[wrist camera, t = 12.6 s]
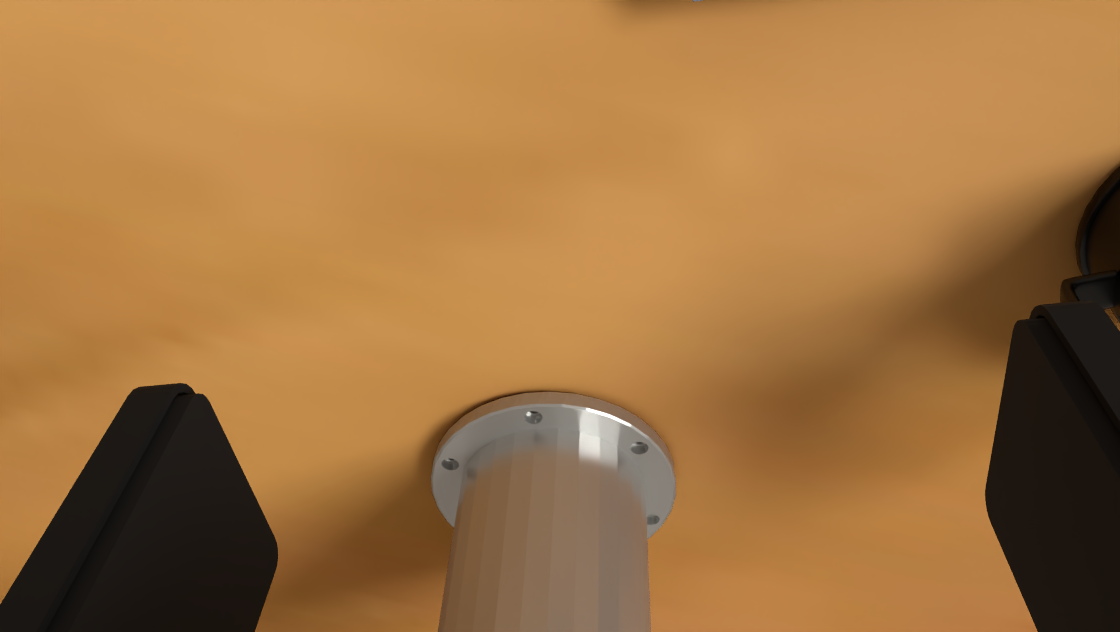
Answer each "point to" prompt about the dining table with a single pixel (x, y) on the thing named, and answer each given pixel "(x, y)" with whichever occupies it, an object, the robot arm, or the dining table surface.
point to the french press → (1098, 251)
